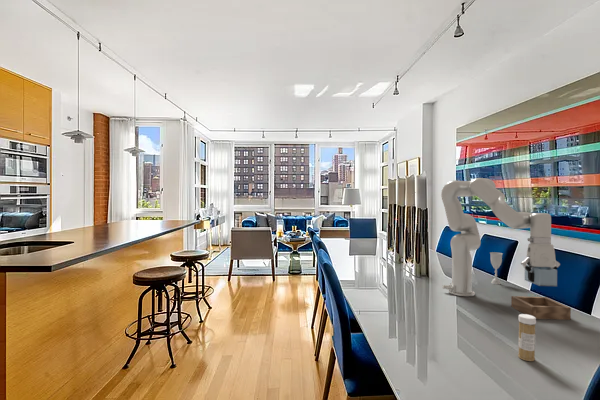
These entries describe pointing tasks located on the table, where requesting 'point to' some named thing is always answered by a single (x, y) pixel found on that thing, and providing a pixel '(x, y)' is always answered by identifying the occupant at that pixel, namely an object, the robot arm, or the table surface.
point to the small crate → (543, 276)
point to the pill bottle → (527, 337)
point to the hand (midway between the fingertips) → (540, 280)
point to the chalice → (496, 264)
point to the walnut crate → (541, 307)
